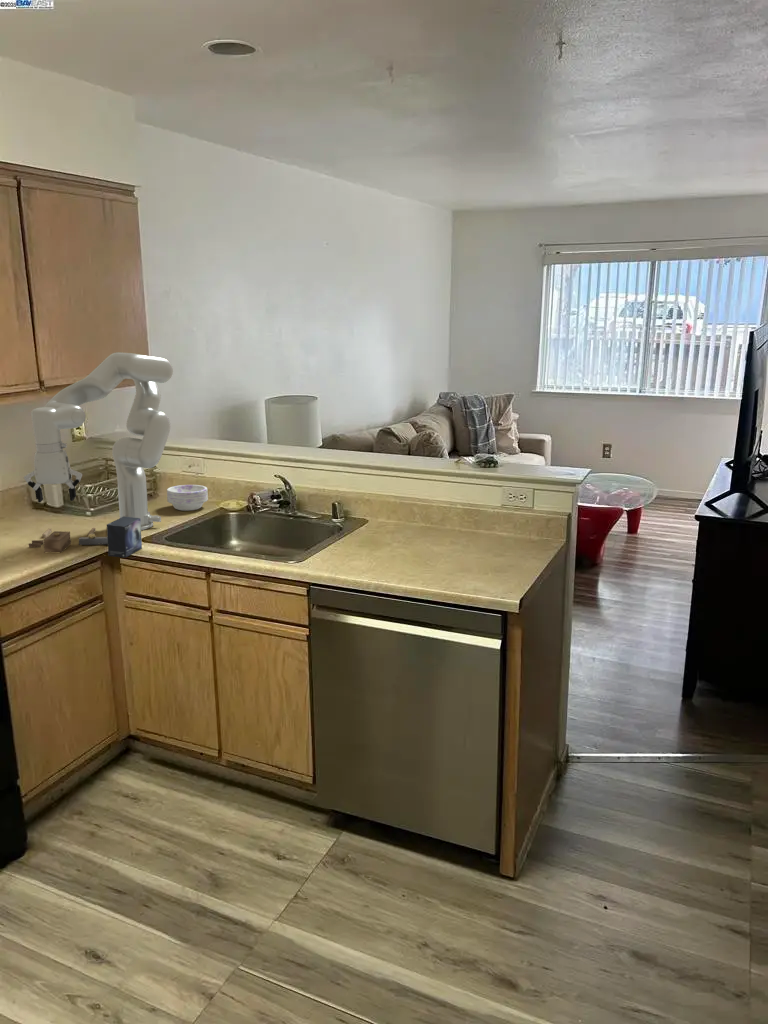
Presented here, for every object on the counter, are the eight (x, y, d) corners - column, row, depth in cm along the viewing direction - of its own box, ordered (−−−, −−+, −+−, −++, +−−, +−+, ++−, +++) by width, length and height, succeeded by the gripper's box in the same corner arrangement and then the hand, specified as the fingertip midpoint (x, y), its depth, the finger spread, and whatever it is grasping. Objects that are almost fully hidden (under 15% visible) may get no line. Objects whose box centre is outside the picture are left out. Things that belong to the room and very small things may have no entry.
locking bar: (118, 542, 257) (117, 533, 257) (117, 544, 256) (116, 534, 255) (80, 543, 256) (79, 533, 255) (79, 544, 254) (78, 535, 253)
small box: (126, 558, 242) (124, 526, 240) (107, 556, 244) (105, 524, 241) (143, 548, 252) (141, 517, 250) (124, 546, 254) (122, 515, 251)
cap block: (70, 544, 255) (69, 529, 254) (60, 553, 247) (59, 537, 245) (55, 544, 255) (54, 529, 254) (44, 553, 246) (43, 537, 245)
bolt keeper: (43, 543, 255) (43, 540, 255) (40, 547, 251) (40, 543, 251) (32, 543, 254) (32, 540, 254) (28, 547, 251) (28, 543, 251)
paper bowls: (191, 501, 313) (190, 481, 311) (216, 507, 304) (215, 487, 302) (159, 508, 301) (158, 488, 299) (184, 515, 292) (183, 494, 290)
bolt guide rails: (95, 531, 270) (95, 527, 270) (91, 536, 263) (90, 533, 263) (48, 532, 268) (48, 528, 267) (42, 537, 261) (42, 534, 261)
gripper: (81, 443, 247) (87, 495, 252) (23, 446, 245) (31, 498, 250) (75, 449, 240) (82, 502, 245) (16, 451, 238) (24, 505, 243)
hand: (56, 500), depth 248 cm, fingers open, 9 cm apart
